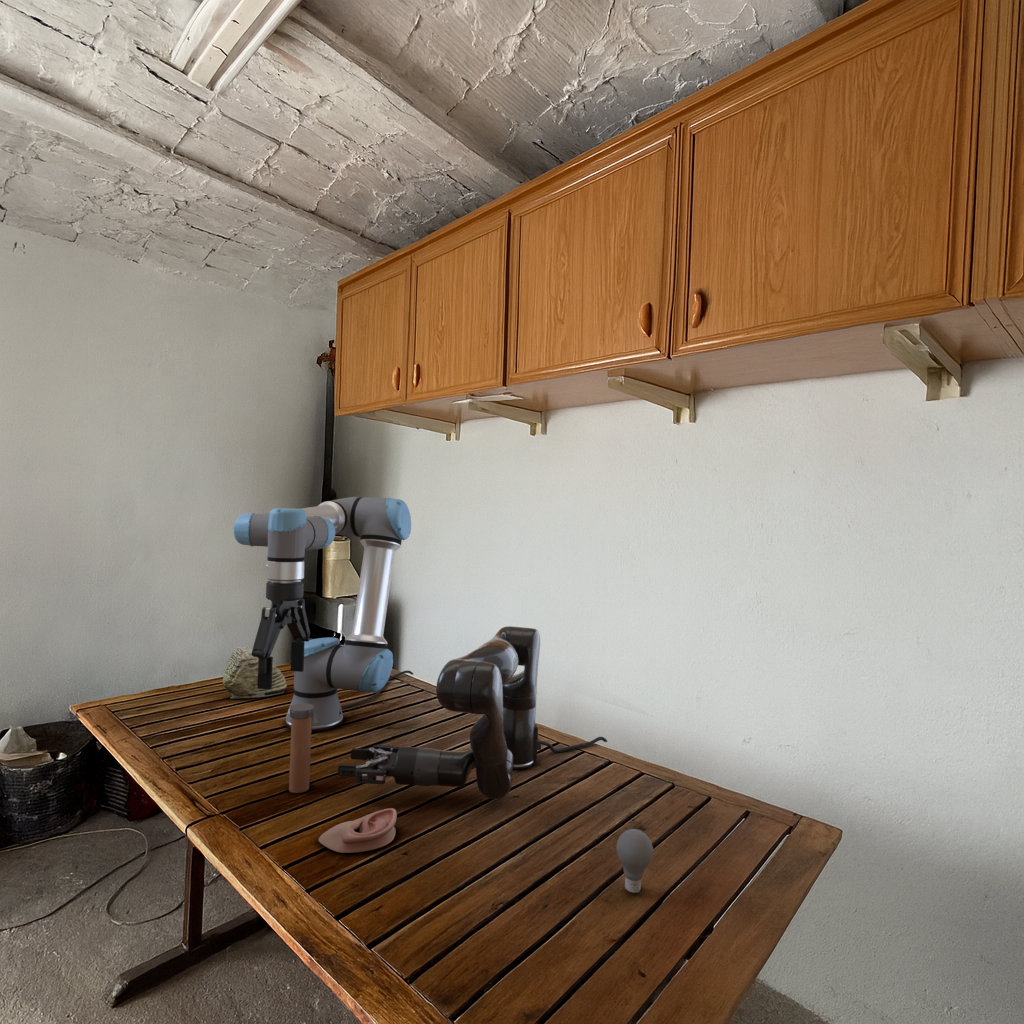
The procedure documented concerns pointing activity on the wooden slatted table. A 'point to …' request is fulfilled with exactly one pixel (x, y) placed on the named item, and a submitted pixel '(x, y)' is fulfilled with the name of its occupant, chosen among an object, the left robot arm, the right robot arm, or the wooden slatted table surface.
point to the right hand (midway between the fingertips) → (345, 761)
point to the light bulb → (634, 857)
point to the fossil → (249, 676)
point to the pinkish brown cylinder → (300, 754)
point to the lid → (301, 711)
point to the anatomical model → (362, 833)
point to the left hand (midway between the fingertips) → (281, 679)
